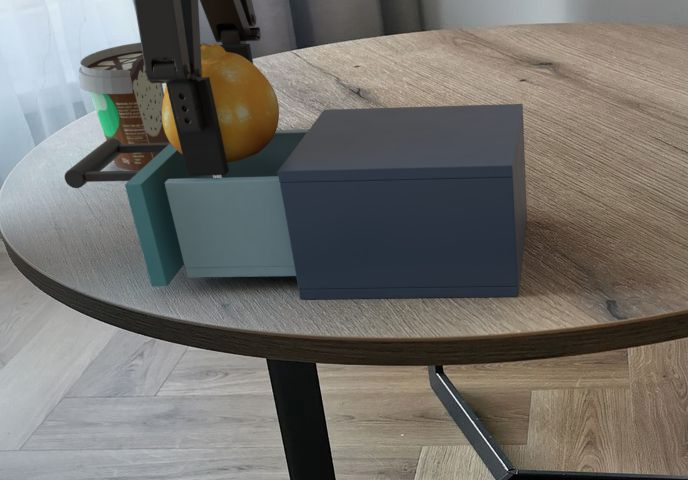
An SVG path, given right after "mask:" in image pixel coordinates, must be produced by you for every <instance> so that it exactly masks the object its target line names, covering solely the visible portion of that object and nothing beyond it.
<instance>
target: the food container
mask: <svg viewBox="0 0 688 480" xmlns="http://www.w3.org/2000/svg"><path fill="white" fill-rule="evenodd" d="M79 63H80V66H79V69H78V74H79V76H78V77H79V87H80V88H81V89H82V90H84V91H86V92H88V93H89V95H90V98H91V100H92V103H93V107H94V109H95V112H96V114H97V117H98V120H99V123H100V126H101V128H102V131H103V134H104V138H105V141H106V140H108V139H110V138H114V139H117V140H118V141H120V142H121V144H134V143H170V141H169V140H168V138H167V136H166V134H165V131H164V127H163V122H162V106H163V98H164V92H165V90H164V86H163V83H151V82H150V81H149V79H148V78H147V76H146V72H145V66H144V59H143V53H142V47H141V42H134V43H128V44H123V45H118V46H117V45H116V46H112V47H108V48H106V49H101V50H99V51H95V52H93V53H91V54H88V55H86V56H85V57H83V58H81V60H80V62H79ZM159 153H160V152H152V153H121V154H120V155H119V156H118V157H117V158H115V159H114V160H113V163H114V164H115V166H117V167H118V168H120V169H123V170H126V171H131V170H141V169H142V168H144V167H145V166H146V165H147V164H148V163H149V162H150V161H151V160H152V159H153V158H155V157H156V156H157V155H158V154H159Z"/></svg>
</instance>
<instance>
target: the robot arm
mask: <svg viewBox="0 0 688 480" xmlns="http://www.w3.org/2000/svg"><path fill="white" fill-rule="evenodd" d="M133 2H134V3H133V4H134V8H135V15H136V21H137V27H138V33H139V34H138V35H139V39H140V43H141V47H142V53H143V59H144V66H145V72H146V76H147V78H148V79H149V81H150V82H151V83H162V84H165V87H166V86H167V90H168V94H169V99H170V103H171V107H172V112H173V116H174V120H175V125H176V129H177V133H178V137H179V142H180V146H181V150H182V155H183V159H184V163H185V168H186V172H187V176H203V175H212V176H221V175H226V174H227V173H228V171H229V169H228V164H227V160H226V155H225V150H224V145H223V140H222V136H221V131H220V126H219V121H218V116H217V112H216V107H215V102H214V97H213V92H212V88H211V83H210V78H209V77H202V65H201V46H200V43H201V29H200V27H201V26H200V9H199V2H200V4H201V7H202V9H203V12H204V15H205V18H206V20H207V23H208V25H209V28H210V30H211V32H212V35H213V38H214V40H215V42H216V43H221V44H219V45H220V46H221V47H223V48H224V50H225V51H226V52H230V53H235V54H238V55H240V56H242V57H244V58H246V59H247V60H248V61H250V62H251V63H252V64H253V65H254V59H253V55H252V54H253V53H252V49H251V44H250V43H247V42H259V41H261V38H262V36H261V33H262V32H261V27H260V26H256V24H257V15H256V13H255V8H254V4H253V0H133Z"/></svg>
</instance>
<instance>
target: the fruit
mask: <svg viewBox="0 0 688 480" xmlns="http://www.w3.org/2000/svg"><path fill="white" fill-rule="evenodd" d="M220 45H221V44H218V43H210V44H208V43H205V42H200V46H201V65H202V77H209V78H210V83H211V88H212V92H213V97H214V102H215V107H216V112H217V116H218V121H219V126H220V131H221V136H222V140H223V145H224V150H225V155H226V160H227V163H229V162H235V161H239V160H243V159H245V158H248V157H250V156H253V155H255V154H257V153H259V152H260V151H261V150H263V149H264V148H265V147H266V146H267V145H268V143H269V142H270V141H271V139H272V138H273V136H274V134H275V132H276V130H278V127H279V121H280V120H279V119H280V105H279V100H278V96H277V94H276V92H275V89H274V87H273V86H272V83H271V82H270V81H269V80H268V78H267V77H266V75H265V74H264V73H263V71H261V70H260V69H259V68H258V67H257V66H256V65H255V64H254V63H253V64H252V63H251V62H250V61H248V60H247V59H246V58H244V57H242V56H240V55H238V54H235V53H230V52H226V51H225V50H224V48H223V47H221V46H220ZM162 122H163V127H164V131H165V134H166V136H167V138H168V140H169V141H170V143H171V144H172V145H173V147H174V148H175V149H176V150H177V151H179V152H180V153H181V154H182V150H181V146H180V142H179V137H178V133H177V129H176V125H175V120H174V116H173V112H172V107H171V103H170V99H169V94H168V90H167V86H166V85H165V88H164V98H163V106H162Z"/></svg>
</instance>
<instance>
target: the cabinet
mask: <svg viewBox="0 0 688 480" xmlns="http://www.w3.org/2000/svg"><path fill="white" fill-rule="evenodd" d="M308 129H309V130H308V132H307V133H306V134H305V136H304V137H303V138H302V140H301V141H300V142H299V144H298V145H297V146H296V148H295V149H294V150H293V152H292V153H291V154H290V156H289V157H288V158H287V160H286V161H285V162H284V164H283V165H282V166H281V168H280V169H279V170H278V177H279V182H280V188H281V193H282V199H283V205H284V210H285V216H286V221H287V227H288V233H289V238H290V244H291V249H292V255H293V261H294V266H295V272H296V276H295V278H296V282H297V289H298V295H299V299H300V300H348V299H349V300H355V299H356V300H357V299H361V300H362V299H364V300H365V299H427V298H428V299H429V298H431V299H433V298H435V299H437V298H441V299H443V298H507V297H509V298H513V297H515V298H516V297H517V298H518V297H519V296H520V295H519V294H520V286H521V285H520V284H521V278H522V277H521V276H522V269H523V268H522V267H523V258H524V252H525V251H524V250H525V243H526V242H525V241H526V231H527V224H528V204H527V180H526V179H527V178H526V157H525V156H526V153H525V152H526V151H525V129H524V104H523V103H505V104H504V103H502V104H499V103H498V104H471V105H467V104H466V105H439V106H437V105H435V106H404V107H403V106H402V107H400V106H399V107H372V108H371V107H370V108H367V107H366V108H333V109H323V110H322V112H321V113H320V114H319V116H317V118H316V120H314V122H313V124H312V125H311V126H310V127H309V128H308Z"/></svg>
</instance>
